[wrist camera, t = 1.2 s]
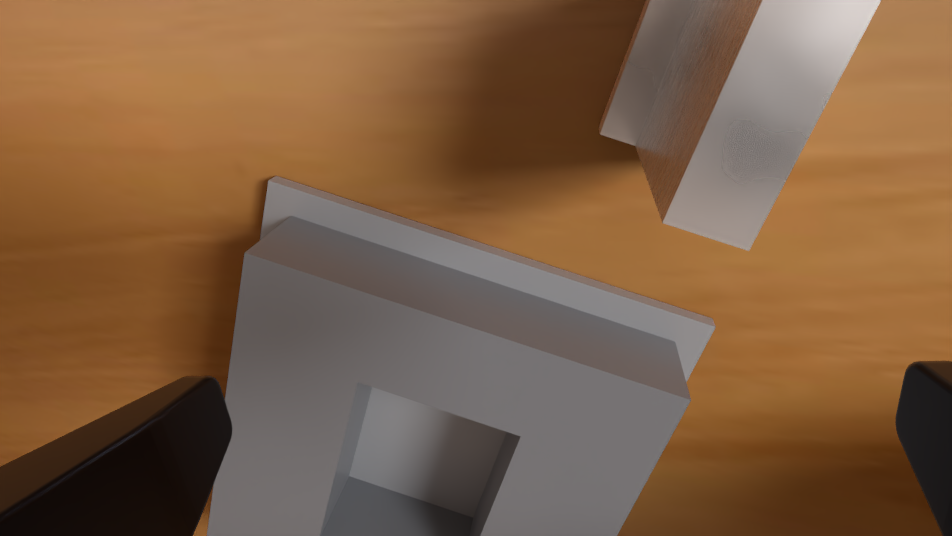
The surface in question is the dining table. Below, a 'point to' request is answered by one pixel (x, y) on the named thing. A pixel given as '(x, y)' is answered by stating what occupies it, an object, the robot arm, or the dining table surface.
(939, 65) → the dining table surface
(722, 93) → the brushed grey block
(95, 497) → the robot arm
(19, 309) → the dining table surface
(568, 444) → the well block
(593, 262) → the dining table surface
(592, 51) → the dining table surface
